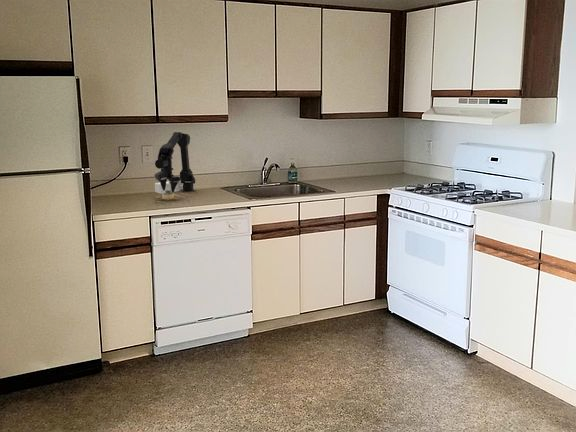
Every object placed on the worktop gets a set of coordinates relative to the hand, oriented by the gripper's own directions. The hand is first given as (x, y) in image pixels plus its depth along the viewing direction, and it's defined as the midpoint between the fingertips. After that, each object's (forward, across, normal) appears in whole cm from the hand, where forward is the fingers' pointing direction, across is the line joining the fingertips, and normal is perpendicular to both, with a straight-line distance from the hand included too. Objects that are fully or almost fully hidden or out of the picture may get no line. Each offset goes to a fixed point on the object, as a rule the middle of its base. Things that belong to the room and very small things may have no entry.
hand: (168, 191), depth 364 cm
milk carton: (+2, -22, +6) cm, 23 cm away
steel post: (+6, 0, 0) cm, 6 cm away
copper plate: (+6, -3, +7) cm, 9 cm away
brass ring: (+4, 0, 0) cm, 4 cm away
